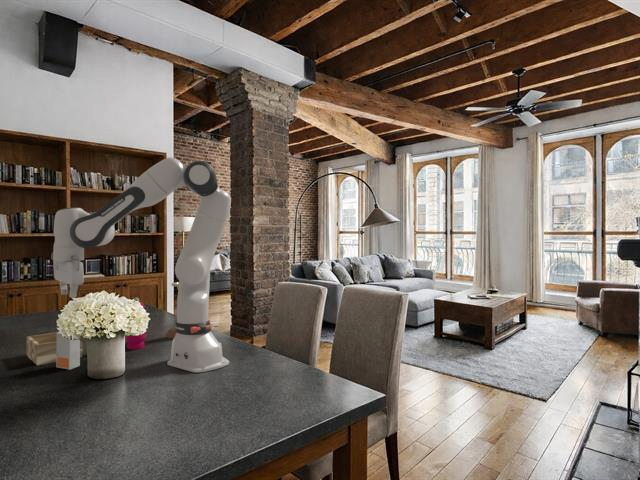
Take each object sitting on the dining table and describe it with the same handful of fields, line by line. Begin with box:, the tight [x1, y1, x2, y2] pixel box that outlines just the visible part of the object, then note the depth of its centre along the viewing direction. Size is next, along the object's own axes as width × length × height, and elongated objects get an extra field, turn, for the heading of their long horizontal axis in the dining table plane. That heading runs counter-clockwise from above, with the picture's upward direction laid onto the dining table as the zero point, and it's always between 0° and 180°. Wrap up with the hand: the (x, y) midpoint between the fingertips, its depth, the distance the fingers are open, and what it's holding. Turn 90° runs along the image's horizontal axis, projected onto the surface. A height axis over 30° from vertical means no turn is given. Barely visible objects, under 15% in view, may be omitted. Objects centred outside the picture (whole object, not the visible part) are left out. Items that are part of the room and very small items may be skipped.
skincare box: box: [55, 331, 81, 371], centre depth 136 cm, size 6×4×12 cm
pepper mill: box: [125, 297, 147, 350], centre depth 161 cm, size 7×7×20 cm
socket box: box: [25, 331, 84, 366], centre depth 148 cm, size 16×14×7 cm
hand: (68, 295), depth 136 cm, fingers open, 8 cm apart
